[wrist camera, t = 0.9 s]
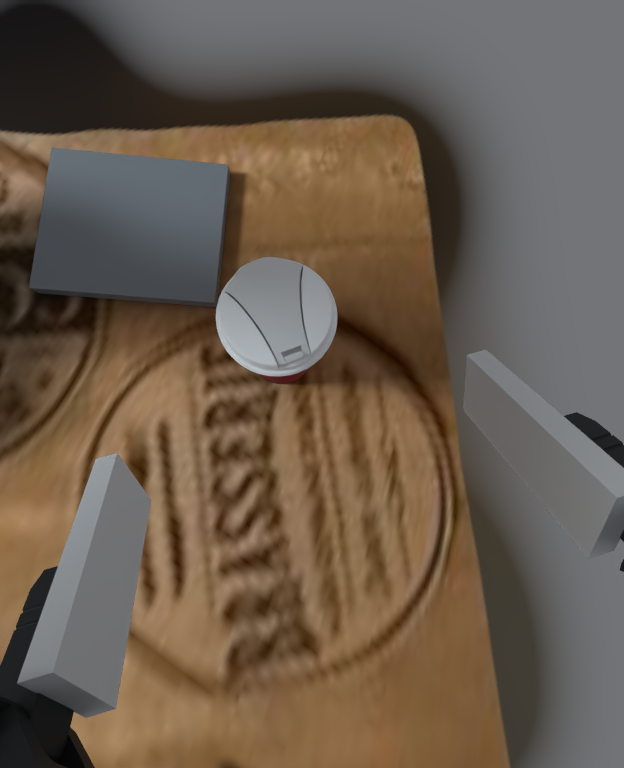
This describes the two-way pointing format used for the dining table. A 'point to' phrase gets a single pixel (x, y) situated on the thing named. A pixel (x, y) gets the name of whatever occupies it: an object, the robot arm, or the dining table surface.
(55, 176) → the slate board
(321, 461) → the dining table surface
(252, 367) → the coffee cup
